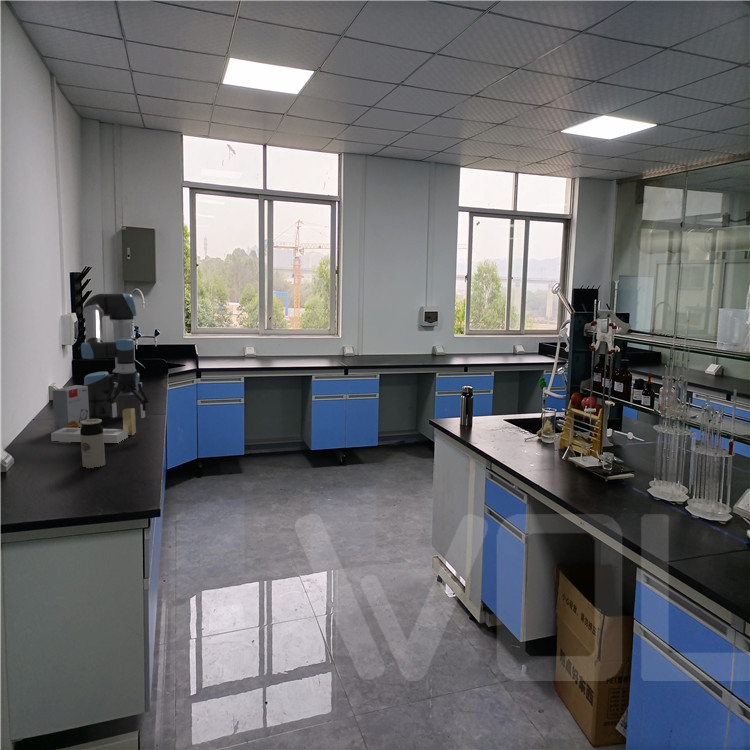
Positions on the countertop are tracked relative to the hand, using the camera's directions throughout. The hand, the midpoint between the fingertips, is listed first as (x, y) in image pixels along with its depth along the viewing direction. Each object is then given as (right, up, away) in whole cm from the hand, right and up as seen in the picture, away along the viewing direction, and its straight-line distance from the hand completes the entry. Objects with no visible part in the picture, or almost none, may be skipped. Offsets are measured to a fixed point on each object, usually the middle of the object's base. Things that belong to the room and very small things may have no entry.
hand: (129, 417), depth 267 cm
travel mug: (+5, -16, -44) cm, 47 cm away
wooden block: (0, -8, +2) cm, 8 cm away
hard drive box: (-33, -6, +12) cm, 35 cm away
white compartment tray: (-14, -10, -9) cm, 19 cm away
